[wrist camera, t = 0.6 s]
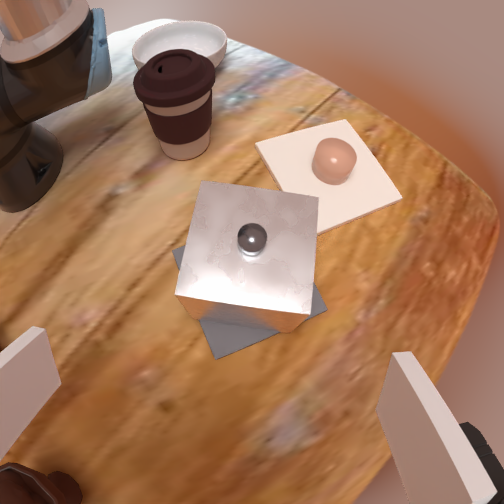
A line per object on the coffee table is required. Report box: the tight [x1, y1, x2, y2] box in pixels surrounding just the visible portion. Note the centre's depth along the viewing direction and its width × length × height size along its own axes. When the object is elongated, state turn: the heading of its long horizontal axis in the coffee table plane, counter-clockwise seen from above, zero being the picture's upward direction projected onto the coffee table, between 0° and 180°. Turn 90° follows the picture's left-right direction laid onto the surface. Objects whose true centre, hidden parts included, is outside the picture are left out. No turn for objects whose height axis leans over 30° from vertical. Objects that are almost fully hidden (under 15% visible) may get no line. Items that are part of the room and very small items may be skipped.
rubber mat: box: [172, 245, 328, 360], centre depth 38 cm, size 14×14×1 cm
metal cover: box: [175, 181, 319, 333], centre depth 32 cm, size 11×11×12 cm
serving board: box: [255, 119, 402, 235], centre depth 44 cm, size 16×16×1 cm
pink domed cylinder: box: [311, 138, 357, 185], centre depth 42 cm, size 6×6×4 cm
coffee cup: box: [133, 49, 215, 160], centre depth 39 cm, size 10×10×15 cm
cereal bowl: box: [132, 21, 227, 70], centre depth 50 cm, size 17×17×7 cm
